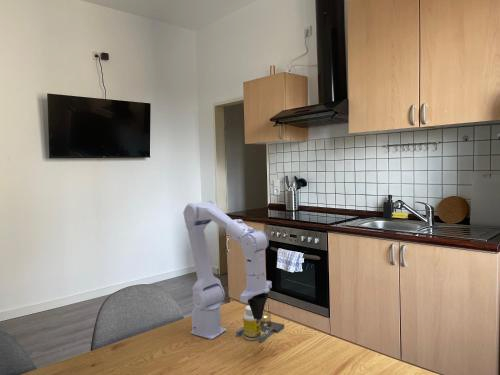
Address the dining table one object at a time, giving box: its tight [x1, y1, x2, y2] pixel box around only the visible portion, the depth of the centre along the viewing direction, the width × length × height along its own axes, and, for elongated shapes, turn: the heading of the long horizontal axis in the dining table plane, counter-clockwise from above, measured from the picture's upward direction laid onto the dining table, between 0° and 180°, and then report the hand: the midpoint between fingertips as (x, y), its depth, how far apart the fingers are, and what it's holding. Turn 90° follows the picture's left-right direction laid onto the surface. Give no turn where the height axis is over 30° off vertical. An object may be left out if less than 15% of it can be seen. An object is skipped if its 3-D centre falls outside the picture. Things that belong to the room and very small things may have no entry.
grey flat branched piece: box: [235, 312, 285, 344], centre depth 123 cm, size 12×14×4 cm
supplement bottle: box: [242, 304, 262, 341], centre depth 119 cm, size 5×5×10 cm
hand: (257, 318), depth 108 cm, fingers closed
